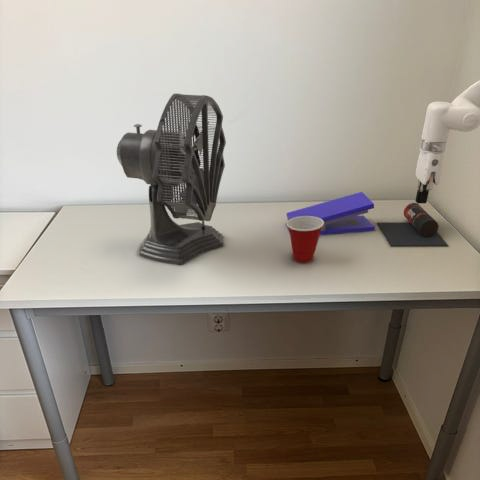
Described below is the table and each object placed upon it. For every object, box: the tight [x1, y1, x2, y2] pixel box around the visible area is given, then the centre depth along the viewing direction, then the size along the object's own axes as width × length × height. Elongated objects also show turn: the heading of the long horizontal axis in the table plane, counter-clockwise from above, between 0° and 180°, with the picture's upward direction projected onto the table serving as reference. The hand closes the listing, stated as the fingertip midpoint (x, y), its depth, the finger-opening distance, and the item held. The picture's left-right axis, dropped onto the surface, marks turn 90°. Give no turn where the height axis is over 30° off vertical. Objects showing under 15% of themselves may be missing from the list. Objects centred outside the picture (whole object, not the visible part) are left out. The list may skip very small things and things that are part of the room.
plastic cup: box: [286, 216, 324, 264], centre depth 151 cm, size 11×11×12 cm
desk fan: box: [116, 93, 227, 266], centre depth 145 cm, size 34×33×45 cm
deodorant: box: [403, 202, 440, 237], centre depth 171 cm, size 6×6×15 cm
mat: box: [376, 221, 449, 248], centre depth 169 cm, size 18×18×1 cm
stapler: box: [286, 191, 376, 236], centre depth 171 cm, size 12×28×10 cm, turn 101°
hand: (420, 202), depth 168 cm, fingers closed
